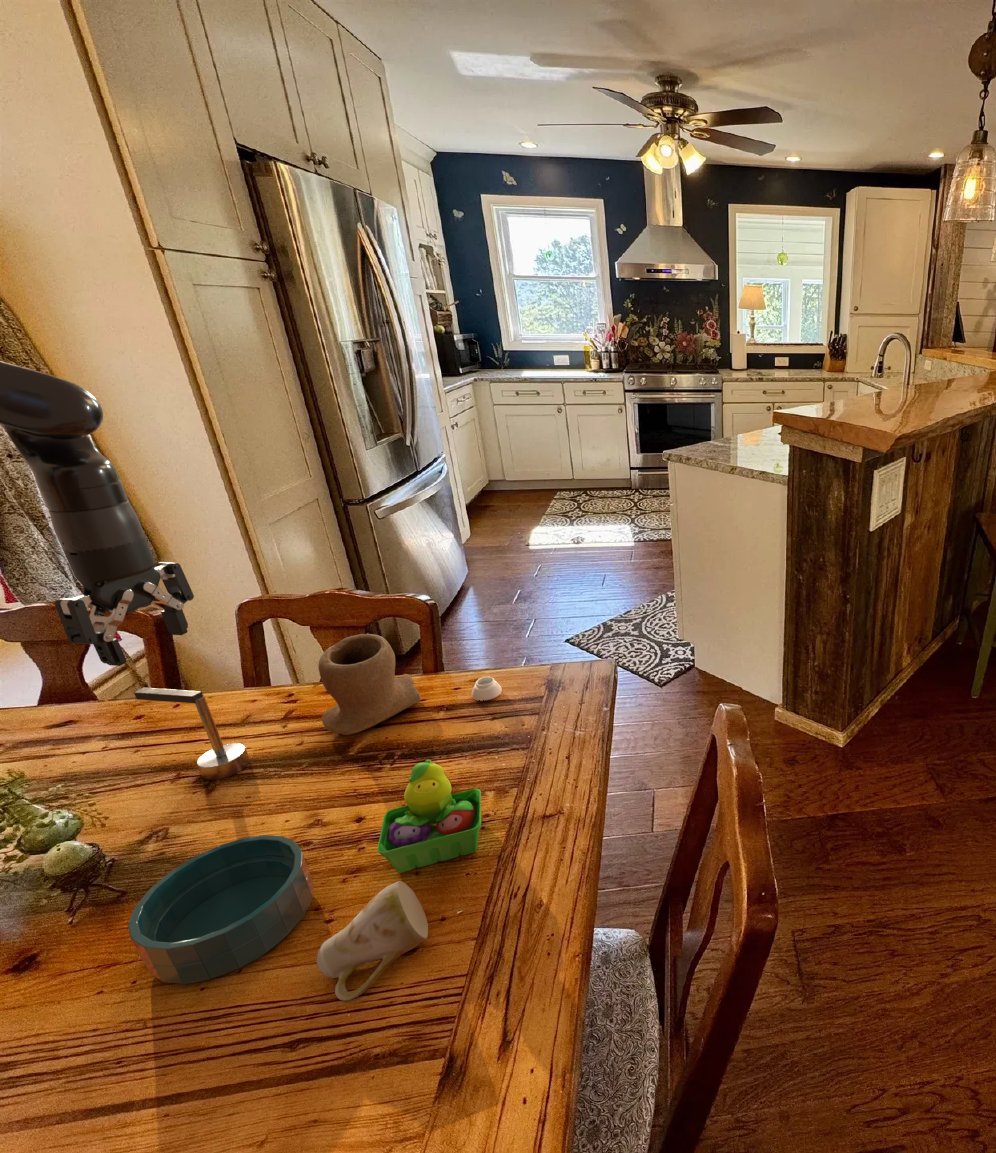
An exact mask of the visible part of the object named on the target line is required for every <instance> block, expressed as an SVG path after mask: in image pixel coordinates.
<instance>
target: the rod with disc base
mask: <svg viewBox="0 0 996 1153" xmlns="http://www.w3.org/2000/svg"><path fill="white" fill-rule="evenodd" d="M133 694H134V696H135V699H136V700H137V701H151V702H153V701H154V702H166V703H167V702H168V703H183V704H184V703H185V704H194V705H195V708H196V710H197V712H198V715H199V717H200V720H201V722H202V725H203V728H204V730H205V732H206V735H207V738H208V739H209V743H210V744H211V747H212V748H211V749H210V750H209V749H208V751H206V752H204V753H203V754H201V756H199V758H198V759H197V761H196V766H197V768H198V770H199V772H200V775H201V778H202V779H205V780H206V781H219V780H222V779H227V778H229V777H232V776H234V775H236V774H238V773H240V772H242V771H243V770H244V769H245V768H246V767H247V766H248V765H249V764H250V762H251V760H250V756H249V754H248V751H247V748H246V746H245V745H244V744H243V743H238V742H234V743H226V744H224V743H223V741H222V737H221V735H220V732H219V730H218V727H217V724H216V723H215V720H214V717H213V715H212V712H211V710H210V706H209V705H208V702H207V700H206V697H205V695H204V694H203V691H202V690H185V689H173V688H172V689H171V688H156V687H141V688H139V689H138V690H136V691H135V692H133Z"/></svg>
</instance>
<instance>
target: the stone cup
mask: <svg viewBox="0 0 996 1153" xmlns="http://www.w3.org/2000/svg"><path fill="white" fill-rule="evenodd" d="M317 668H318V672H319V677H320V680H321V683H322V686H323V687H324V689H325V690H326V692H327V693H328V694H329V695H330V696H331V697H332V698H333V700H334V701H335V702H336V703H337V704H336V705H334V706H332V707H331V708H328V710H326V711H325V712H324V713H323V714H322V716H321V722H322V725H323V727H324V728H325V729H326V730H328V731H329V732H330V733H332V734H335V735H344V736H349V735H355V734H357V733H360V732H363V731H365V730H368V729H370V728H373V727H374V726H376V725H378V724H380V723H382V722H384V721H386V720H388V719H390V718H392V717H394V716H395V715H397V714H399V713H401V712H403V711H404V710H406V709H409V708H410V707H412V706H414V705H416V704H418V703H419V702H421V701H422V699H423V698H422V694H421V693H420V692H419V691H418V689H417V687H416V686H415V683H414V678H413V677H412V676H411V675H409V674H408V673H404V674H401V675H399V676H398V677H407V678H397V677H395V676H396V673H395V672H396V655H395V651H394V650H393V648H392V646H391V644H390V643H389V642H388V641H387V639H386V638H384V637H383V636H380V635H379V634H372V633H361V634H356V635H351V636H348V637H345V638H343V639H341V640H340V641H338V642H337V643H335V644H333V645H332V646H329V647H328V648H326V649H325V650H324V651H323V653H322V654H321V655H320V657H319V660H318V667H317Z"/></svg>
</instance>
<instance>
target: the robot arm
mask: <svg viewBox="0 0 996 1153" xmlns="http://www.w3.org/2000/svg"><path fill="white" fill-rule="evenodd" d="M103 420H104V411H103V408H102V406H101V404H100V402H99V400H97V398H96V396H94V395H93V394H92V393H91V391H88V390H87V389H86V388H84V387H82V386H80V385H79V384H76V383H75V382H72V381H70V380H67V379H64V378H61V377H58V376H54V375H51V374H49V373H48V374H47V373H44V372H40V371H37V370H34V369H31V368H26V367H23V366H19V365H15V364H11V363H9V362H5V361H1V360H0V424H1V425H2V427H3V429H4V430H5V433H6V434H7V436H8V437H9V439H10V440H11V443H13V445H14V447H15V448H16V450H17V451H18V452H19V454H20V456H21V457H22V458H23V460H24V461H25V462H26V464H27V465H28V467H29V468H30V470H31V472H32V474H33V477H34V479H35V480H34V481H35V483H36V486H37V489H38V491H39V493H40V495H41V497H42V500H43V502H44V504H45V507H46V509H47V510H48V513H49V516H50V521H51V524H52V525H51V526H52V529H53V532H54V533H55V536H56V538H57V541H58V542H59V544H60V546H61V549H62V551H63V553H64V554H63V555H64V556H65V558H66V560H67V562H68V565H69V568H70V569H71V571H72V573H73V576H74V578H75V579H76V580H77V581H78V582H79V583H80V584H81V586H82V594H80V595H77V596H74V597H70V598H58V599H56V600H55V602H54V606H55V609H56V612H57V615H58V616H59V619H60V623H61V624H62V627H63V630H64V632H65V635H66V638H67V641H68V642H69V643H70V644H83V645H93V647H94V649H95V652H96V654H97V655H98V658H99V660H100V662H101V663H103V664H105V665H106V664H107V665H108V666H113V667H114V666H116V667H121V666H123V665H125V664H127V658H126V656H125V654H124V651H123V649H122V646H121V645H120V642H119V640H118V639H117V638H115V636H116V633H117V630H118V627H119V626H120V625H122V624H123V623H124V620H125V617H126V615H130V614H133V613H135V612H136V611H138V610H139V609H142V608H147V607H149V606H152V605H153V606H155V607H157V608H159V609H161V611H160V613H161V616H162V619H163V621H164V624H165V627H166V628H167V631H168V633H169V634H170V635H172V636H183V635H185V634H188V632H189V631H188V628H189V624H188V621H187V618H186V616H185V613H184V610H183V609H184V607H185V606H184V605H185V604H186V603H187V602H188V601H189V602H190V601H192V600H193V599H194V598H195V595H194V592H193V590H192V588H191V586H190V584H189V582H188V579H187V576H186V574H185V572H184V570H183V568H182V566H181V564H180V563H178V562H165V561H158V562H157V563H156V560H155V557H154V554H153V552H152V550H151V546H150V545H149V543H148V540H147V539H148V538H147V537H146V534H145V532H144V530H143V526H142V524H141V522H140V519H139V516H138V514H137V513H136V511H135V510H134V508H133V506H132V504H131V503H130V500H129V498H128V495H127V493H126V489H125V488H124V486H123V483H122V480H121V477H120V475H119V473H118V471H117V468H116V467H115V466H114V465H113V463H112V462H111V460H110V459H108V458H106V457H105V456H104V455H103V454H102V453H101V452H100V451H99V449H98V448H97V446H96V444H95V442H94V439H93V437H92V434H94V432H96V431H98V429H99V428H100V427H101V425H102V423H103ZM160 581H162V583H163V585H164V587H165V590H166V591H165V590H164V589H162V588H160V587H159V585H160ZM90 605H92V608H91V607H89V606H90ZM106 613H108V614H110V615H109V616H105V614H106Z"/></svg>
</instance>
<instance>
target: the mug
mask: <svg viewBox="0 0 996 1153" xmlns="http://www.w3.org/2000/svg"><path fill="white" fill-rule="evenodd" d="M428 935H429V923H428V919H427V915H426V913H425V911H424V908H423V906H422V904H421V902H420V901H419V898H418V896H417V895H416V893H415V892H414V890H413V889H412V888H411V887H410V886H408V885H407V883H405V882H403V881H402V880H398V881H396V882H394V883H392V884H391V883H390V884H388V885H387V886H386V887H384V888H382V889H381V890H379V891H378V892H377V893H376V894H375V895H374V896H373V897H372V898H371V899H370V900H369V901H368V902H367V903H366V904H365V905H364V906H363V908H362V909H361V910H360V911H359V912H358V914H357V915H356V916H355V917H354V918H353V919H352V920H351V921H350V922H349V923H348V924H347V925H346V926H345V927H344V928H342V929H341V930H339V931H338V932H337V933H335V934H334V935H332V936H331V937H329V938H328V939H326V940H324V941H322V944H321V945H320V947H319V949H318V952H317V954H316V965H317V968H318V970H319V972H320V973H321V974H322V975H323V976H324V977H327V978H331V979H338V980H337V983H336V984H335V987H334V995H335V996H336V998H337V999H338V1000H340V1001H342V1002H346V1001H351V1000H354V999H356V998H358V997H359V996H361V995H362V994H364V993H365V992H367V990H368V989H370V988H371V987H372V985H373V984H374V983H375V982H376V981H377V980H378V978H379V977H380V976H381V975H382V974H383V972H384V971H385V970H386V969H387V968H388V967H389V966H391V964H392V963H394V962H395V961H397V959H398V958H399V957H400V956H401V955H403V954H405V953H407V952H409V951H411V950H413V949H415V948H416V947H417V946H419V945H420V944H421V943H423V942H424V941H426V940H427V939H428ZM380 960H381V962H380V963H379V964H378V966H377V967H376V968H375V969H374V971H373V973H372V974H371V975H370V976H369V977H368V979H366V980H365V982H364V983H363V984H362V985H361V986H359V987H358V988H356V989H354V990H350V991H348V990H347V988H346V982H347V979H348V978H350V976H351V975H353V973H354V972H355V971H356V969H357V968H358V967H360V966H362V965H365V964H367V963H371V962H375V961H376V962H377V961H380Z"/></svg>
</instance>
